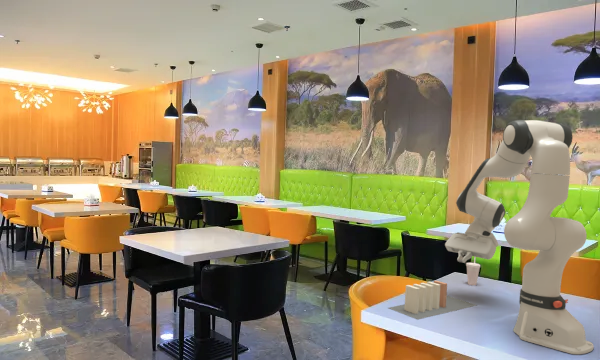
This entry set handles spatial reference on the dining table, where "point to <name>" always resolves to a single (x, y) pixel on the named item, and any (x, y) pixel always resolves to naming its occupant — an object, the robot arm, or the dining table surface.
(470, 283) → the smoothie
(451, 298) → the rubber mat
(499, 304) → the dining table surface
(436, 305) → the ivory domino
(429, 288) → the ivory domino
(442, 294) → the terracotta domino
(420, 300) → the ivory domino
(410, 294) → the ivory domino
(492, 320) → the dining table surface
